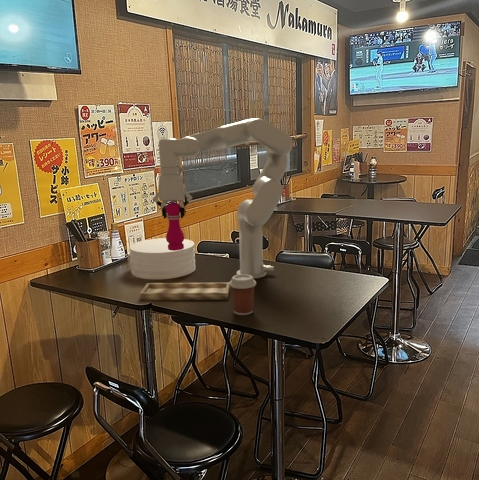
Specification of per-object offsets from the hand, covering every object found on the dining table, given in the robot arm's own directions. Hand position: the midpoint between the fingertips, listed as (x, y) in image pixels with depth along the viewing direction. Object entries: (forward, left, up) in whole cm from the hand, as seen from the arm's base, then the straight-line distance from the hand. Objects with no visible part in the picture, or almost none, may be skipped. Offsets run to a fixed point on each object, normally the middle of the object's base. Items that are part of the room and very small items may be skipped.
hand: (173, 217), depth 187 cm
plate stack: (+9, -19, -27) cm, 34 cm away
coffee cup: (-28, +32, -27) cm, 50 cm away
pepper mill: (0, 0, -13) cm, 13 cm away
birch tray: (-6, +14, -27) cm, 31 cm away
